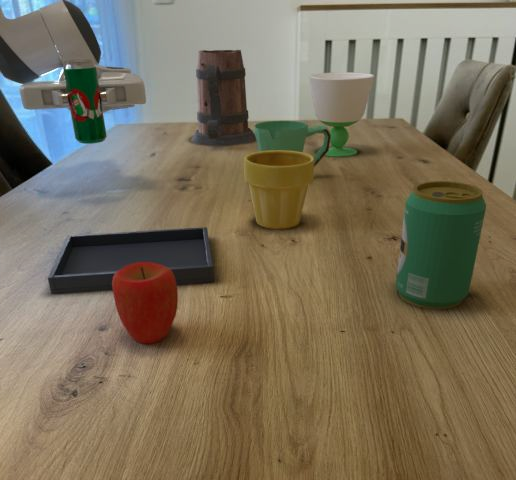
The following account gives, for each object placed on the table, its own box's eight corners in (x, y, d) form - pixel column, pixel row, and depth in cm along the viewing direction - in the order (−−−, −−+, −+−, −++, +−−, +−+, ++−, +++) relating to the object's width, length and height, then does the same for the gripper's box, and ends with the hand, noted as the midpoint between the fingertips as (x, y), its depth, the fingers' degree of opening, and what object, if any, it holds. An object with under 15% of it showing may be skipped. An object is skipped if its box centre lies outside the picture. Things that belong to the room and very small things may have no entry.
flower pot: (324, 218, 86) (327, 154, 81) (289, 238, 79) (290, 169, 74) (269, 207, 91) (268, 146, 86) (232, 225, 84) (229, 160, 79)
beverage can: (400, 276, 67) (413, 177, 61) (469, 285, 65) (490, 183, 58) (389, 304, 61) (401, 197, 55) (464, 316, 58) (487, 204, 52)
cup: (368, 160, 119) (374, 78, 110) (304, 158, 120) (306, 79, 112) (367, 146, 130) (373, 72, 122) (309, 145, 132) (311, 72, 124)
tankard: (198, 132, 149) (192, 48, 138) (260, 132, 147) (258, 47, 137) (178, 151, 129) (169, 55, 118) (249, 152, 127) (246, 54, 117)
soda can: (98, 136, 95) (86, 58, 88) (112, 141, 91) (100, 60, 85) (70, 141, 92) (56, 60, 86) (84, 145, 89) (69, 62, 82)
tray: (51, 294, 65) (47, 277, 64) (70, 249, 77) (67, 235, 76) (214, 282, 67) (213, 266, 66) (207, 241, 79) (206, 226, 78)
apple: (194, 334, 56) (188, 266, 52) (147, 359, 52) (136, 287, 48) (155, 315, 60) (147, 250, 56) (108, 337, 56) (95, 269, 52)
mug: (262, 189, 101) (261, 131, 96) (249, 176, 109) (248, 122, 104) (337, 182, 104) (340, 126, 99) (319, 170, 112) (321, 117, 107)
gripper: (18, 72, 95) (10, 80, 84) (138, 67, 100) (146, 74, 88) (27, 111, 98) (20, 124, 87) (142, 105, 103) (150, 117, 91)
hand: (85, 99), depth 88 cm, fingers closed on soda can, 5 cm apart
